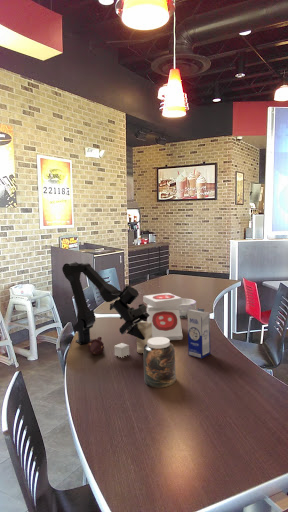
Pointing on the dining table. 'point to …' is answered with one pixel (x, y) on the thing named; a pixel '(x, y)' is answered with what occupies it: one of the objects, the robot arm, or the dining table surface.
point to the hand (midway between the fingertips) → (147, 337)
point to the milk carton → (198, 333)
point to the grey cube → (121, 350)
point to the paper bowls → (186, 306)
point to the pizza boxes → (164, 315)
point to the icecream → (96, 346)
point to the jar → (159, 362)
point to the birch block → (144, 334)
